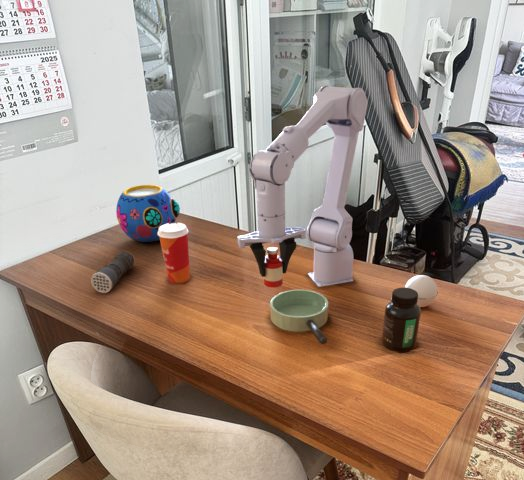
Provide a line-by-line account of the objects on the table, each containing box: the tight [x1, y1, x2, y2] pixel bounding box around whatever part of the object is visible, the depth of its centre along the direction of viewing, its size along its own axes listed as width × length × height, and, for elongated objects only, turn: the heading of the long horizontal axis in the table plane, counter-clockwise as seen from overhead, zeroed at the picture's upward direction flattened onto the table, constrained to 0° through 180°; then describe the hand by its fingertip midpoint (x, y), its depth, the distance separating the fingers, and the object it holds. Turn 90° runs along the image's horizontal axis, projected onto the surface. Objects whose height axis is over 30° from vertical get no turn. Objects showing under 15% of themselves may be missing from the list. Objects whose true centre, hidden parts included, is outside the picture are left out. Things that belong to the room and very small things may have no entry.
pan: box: [269, 289, 330, 333], centre depth 115 cm, size 13×13×4 cm
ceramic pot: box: [115, 184, 181, 243], centre depth 155 cm, size 18×18×15 cm
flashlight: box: [90, 250, 135, 294], centre depth 135 cm, size 15×5×5 cm, turn 168°
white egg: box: [404, 274, 449, 308], centre depth 117 cm, size 10×7×7 cm
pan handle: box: [307, 320, 328, 345], centre depth 107 cm, size 9×2×2 cm, turn 17°
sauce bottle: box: [263, 246, 284, 289], centre depth 113 cm, size 4×4×8 cm
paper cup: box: [158, 222, 191, 284], centre depth 132 cm, size 8×8×14 cm
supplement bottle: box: [381, 286, 422, 354], centre depth 103 cm, size 7×7×12 cm
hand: (272, 273), depth 113 cm, fingers closed on sauce bottle, 4 cm apart
